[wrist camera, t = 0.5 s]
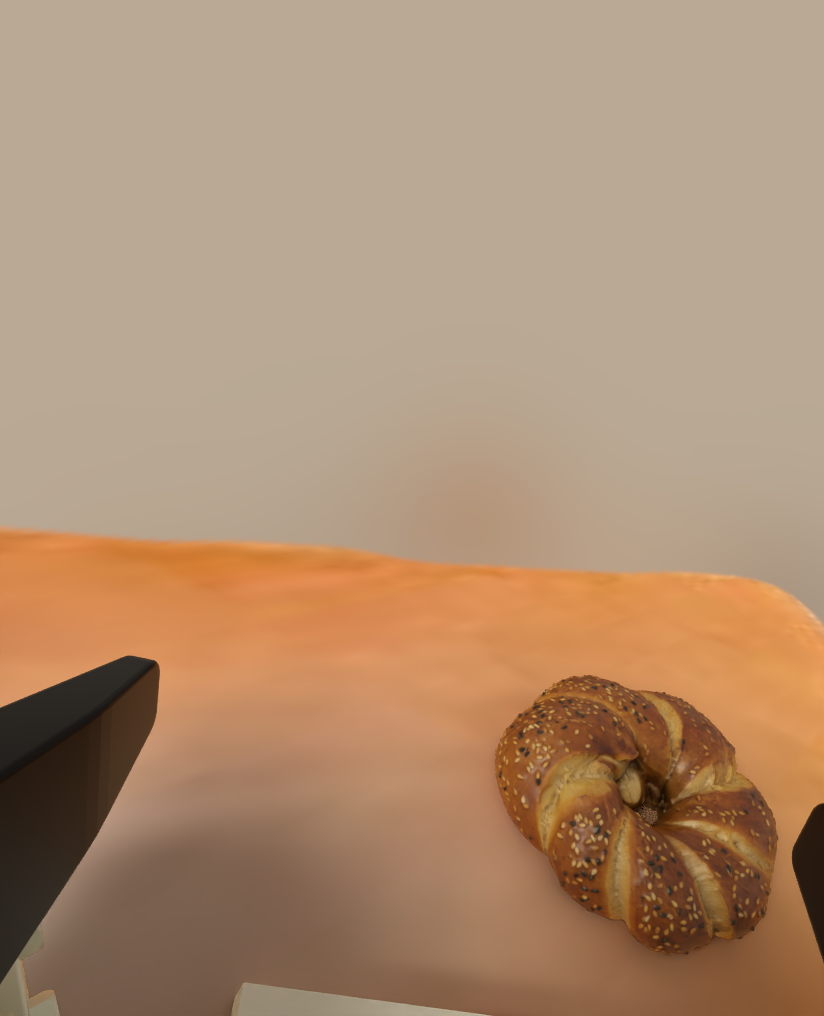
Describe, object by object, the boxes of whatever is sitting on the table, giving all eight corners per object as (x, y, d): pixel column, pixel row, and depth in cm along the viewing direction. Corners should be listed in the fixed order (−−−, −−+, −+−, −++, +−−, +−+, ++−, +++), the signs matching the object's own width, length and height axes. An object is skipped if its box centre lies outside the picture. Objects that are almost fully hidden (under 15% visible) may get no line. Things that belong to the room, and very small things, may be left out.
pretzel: (479, 913, 22) (525, 870, 19) (489, 666, 30) (521, 617, 28) (786, 1004, 23) (862, 973, 21) (710, 740, 32) (758, 699, 29)
